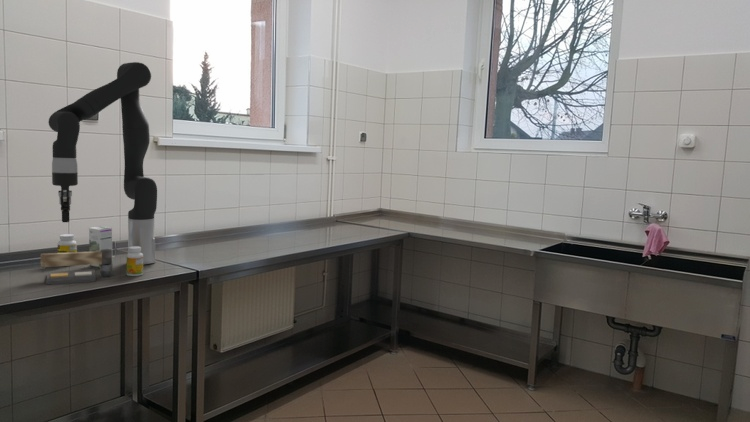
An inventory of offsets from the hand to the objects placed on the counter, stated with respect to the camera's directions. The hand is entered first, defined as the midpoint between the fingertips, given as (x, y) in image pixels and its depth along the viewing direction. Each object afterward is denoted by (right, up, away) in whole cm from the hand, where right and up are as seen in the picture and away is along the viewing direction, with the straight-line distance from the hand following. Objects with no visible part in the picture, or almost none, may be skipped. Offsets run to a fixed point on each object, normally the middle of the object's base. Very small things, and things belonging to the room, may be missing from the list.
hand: (65, 221), depth 186 cm
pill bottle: (-8, -16, +16) cm, 24 cm away
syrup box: (+4, -17, +16) cm, 24 cm away
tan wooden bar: (+6, -14, -3) cm, 16 cm away
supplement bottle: (+21, -19, +5) cm, 29 cm away
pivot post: (+13, -19, +2) cm, 23 cm away
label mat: (+4, -19, -3) cm, 19 cm away
